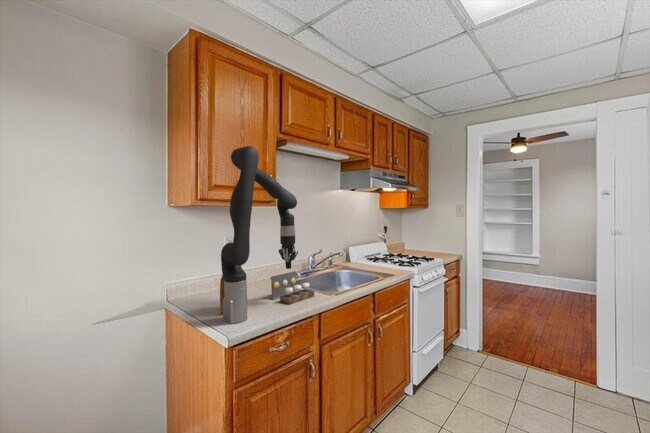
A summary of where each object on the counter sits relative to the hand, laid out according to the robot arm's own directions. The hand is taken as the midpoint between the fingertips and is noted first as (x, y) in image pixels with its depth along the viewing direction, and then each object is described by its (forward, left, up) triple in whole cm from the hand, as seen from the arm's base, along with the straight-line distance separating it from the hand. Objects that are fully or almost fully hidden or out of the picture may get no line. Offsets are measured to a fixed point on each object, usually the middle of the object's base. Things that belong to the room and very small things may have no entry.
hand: (288, 268), depth 156 cm
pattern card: (+6, +10, -17) cm, 21 cm away
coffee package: (-25, +10, -17) cm, 32 cm away
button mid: (+6, 0, -12) cm, 13 cm away
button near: (0, 0, -12) cm, 12 cm away
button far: (+12, 0, -12) cm, 17 cm away
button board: (+6, 0, -17) cm, 18 cm away
